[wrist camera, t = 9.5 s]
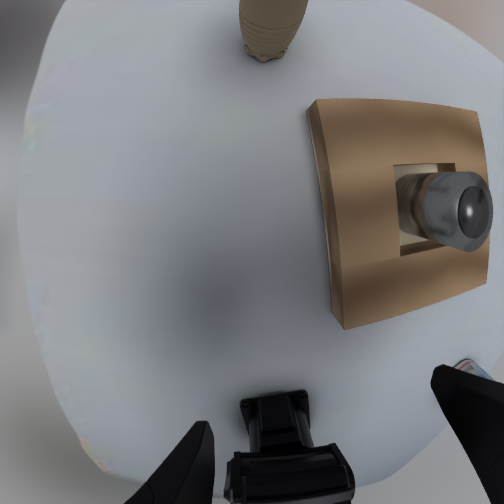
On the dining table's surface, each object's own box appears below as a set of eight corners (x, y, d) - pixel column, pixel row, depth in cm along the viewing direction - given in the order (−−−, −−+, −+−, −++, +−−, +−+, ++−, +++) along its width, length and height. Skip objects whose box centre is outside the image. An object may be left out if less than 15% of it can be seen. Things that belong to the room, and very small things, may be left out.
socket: (436, 230, 20) (495, 246, 13) (391, 238, 20) (451, 259, 13) (432, 172, 19) (493, 171, 12) (386, 175, 19) (447, 171, 11)
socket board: (467, 274, 21) (486, 283, 19) (332, 312, 22) (344, 330, 19) (457, 116, 18) (477, 111, 15) (305, 111, 18) (316, 99, 15)
